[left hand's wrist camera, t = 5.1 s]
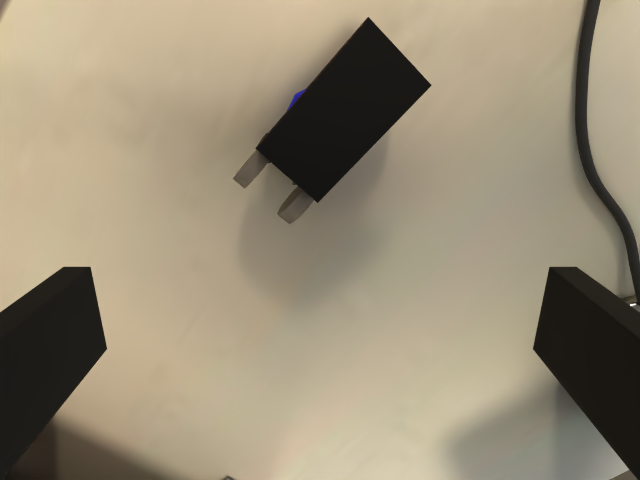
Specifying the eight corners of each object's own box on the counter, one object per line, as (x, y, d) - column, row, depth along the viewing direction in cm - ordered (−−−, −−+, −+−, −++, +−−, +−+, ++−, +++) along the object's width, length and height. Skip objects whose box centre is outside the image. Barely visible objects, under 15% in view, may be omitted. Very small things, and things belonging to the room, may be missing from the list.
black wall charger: (301, 206, 40) (421, 77, 34) (289, 241, 33) (438, 87, 27) (243, 158, 38) (360, 15, 33) (219, 184, 31) (361, 9, 26)
